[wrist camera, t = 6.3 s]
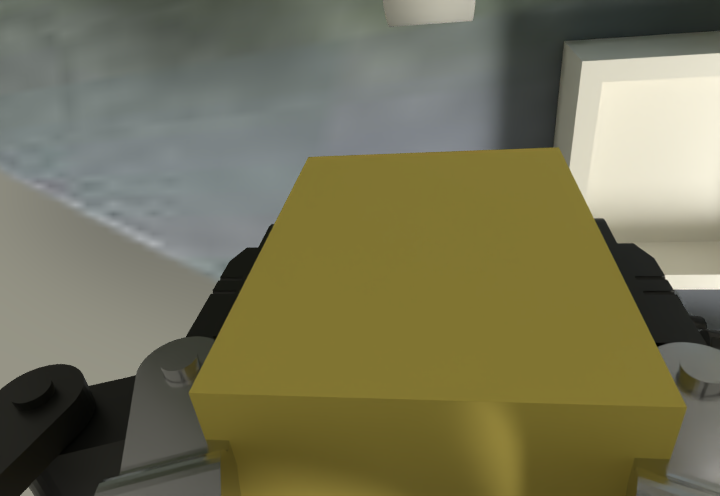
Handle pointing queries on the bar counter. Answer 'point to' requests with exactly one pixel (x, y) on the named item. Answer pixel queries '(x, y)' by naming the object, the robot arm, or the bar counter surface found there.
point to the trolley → (427, 11)
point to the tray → (648, 144)
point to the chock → (437, 338)
